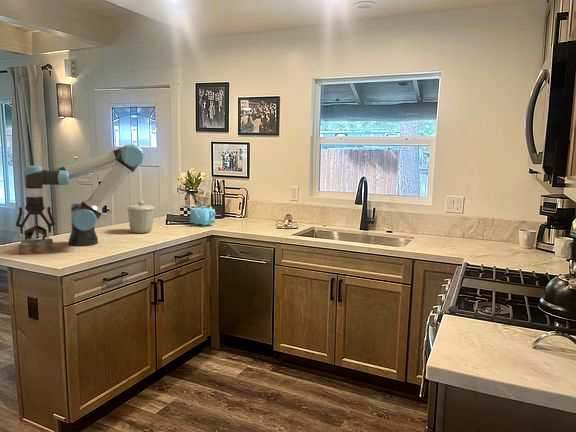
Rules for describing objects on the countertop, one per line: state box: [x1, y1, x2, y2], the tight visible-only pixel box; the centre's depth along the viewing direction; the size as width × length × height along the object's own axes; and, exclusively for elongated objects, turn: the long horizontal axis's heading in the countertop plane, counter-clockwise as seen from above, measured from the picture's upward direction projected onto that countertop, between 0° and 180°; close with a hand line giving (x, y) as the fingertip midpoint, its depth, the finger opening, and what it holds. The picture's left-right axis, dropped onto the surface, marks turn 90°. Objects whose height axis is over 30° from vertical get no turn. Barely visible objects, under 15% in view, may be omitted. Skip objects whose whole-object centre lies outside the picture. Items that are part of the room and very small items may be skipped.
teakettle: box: [188, 205, 217, 227], centre depth 318 cm, size 19×19×15 cm
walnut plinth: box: [18, 238, 54, 256], centre depth 218 cm, size 14×14×5 cm
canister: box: [126, 200, 156, 234], centre depth 280 cm, size 18×18×21 cm
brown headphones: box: [24, 224, 47, 240], centre depth 218 cm, size 12×10×8 cm
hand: (36, 239), depth 217 cm, fingers closed on brown headphones, 10 cm apart
